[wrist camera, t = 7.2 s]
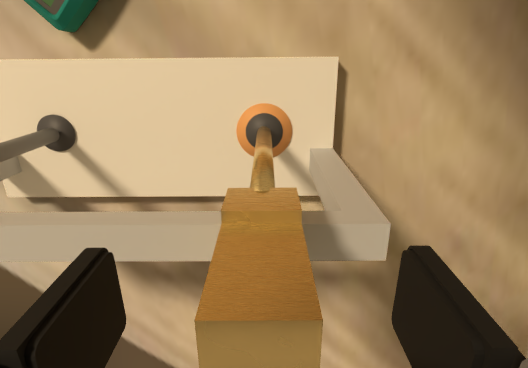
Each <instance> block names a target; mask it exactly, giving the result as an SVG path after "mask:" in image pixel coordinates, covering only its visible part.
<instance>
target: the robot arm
mask: <svg viewBox="0 0 528 368" xmlns="http://www.w3.org/2000/svg"><path fill="white" fill-rule="evenodd" d="M392 324H393V328H394V330H395V332H396V334H397V336H398V339H399V341H400V343H401V345H402V347H403V349H404V351H405V353H406V356H407V358H408V360H409V362H410V364H411V366H412V368H528V358H527V359H526V358H525V357H524V356H523V355H522V354H521V352H520V351H519V350H518V347H517V346H516V345H515V344H514V343H513V341H512V340H511V339H510V338H509V337H508V336H507V335H506V333H505V332H504V331H503V330H502V329H501V328H500V326H499V325H498V324H497V323H496V322H495V321H494V319H493V318H492V317H491V316H490V315H489V314H488V313H487V311H486V310H485V309H484V308H483V307H482V306H481V304H480V303H479V302H478V301H477V300H476V299H475V298H474V296H473V295H472V294H471V293H470V292H469V291H468V289H467V288H466V287H465V286H464V285H463V284H462V283H461V281H460V280H459V279H458V278H457V277H456V276H455V274H454V273H453V272H452V271H451V270H450V269H449V268H448V266H447V265H446V264H445V263H444V262H443V261H442V259H441V258H440V257H439V256H438V255H437V254H436V253H435V251H434V250H433V249H432V248H431V247H430V246H409V248H408V250H404V251H403V253H402V258H401V264H400V270H399V276H398V282H397V288H396V294H395V300H394V306H393V312H392ZM125 325H126V314H125V309H124V304H123V299H122V295H121V290H120V285H119V280H118V275H117V270H116V265H115V260H114V255H113V253H112V252H108V250H107V248H86V249H84V250H83V251H82V252H81V253H80V255H79V256H78V257H77V258H76V259H75V260H74V261H73V262H72V263H71V264H70V265H69V266H68V267H67V269H66V270H65V271H64V272H63V273H62V274H61V275H60V276H59V277H58V278H57V279H56V280H55V281H54V282H53V284H52V285H51V286H50V287H49V288H48V289H47V290H46V291H45V292H44V293H43V294H42V296H41V297H40V298H39V299H38V300H37V301H36V302H35V303H34V304H33V305H32V306H31V307H30V308H29V309H28V310H27V312H26V313H25V314H24V315H23V316H22V317H21V318H20V319H19V320H18V321H17V322H16V323H15V325H14V326H13V327H12V328H11V329H10V330H9V331H8V332H7V333H6V334H5V335H4V336H3V337H2V338H1V340H0V368H105V366H106V364H107V362H108V360H109V358H110V356H111V354H112V352H113V350H114V348H115V346H116V345H117V342H118V341H119V339H120V337H121V335H122V333H123V331H124V329H125Z"/></svg>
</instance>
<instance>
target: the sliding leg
mask: <svg viewBox="0 0 528 368" xmlns="http://www.w3.org/2000/svg"><path fill="white" fill-rule="evenodd" d="M221 222H222V223H221V227H220V231H219V234H218V238H217V241H216V245H215V249H214V252H213V256H212V260H211V263H210V267H209V270H208V274H207V278H206V281H205V285H204V288H203V292H202V296H201V299H200V303H199V307H198V310H197V314H196V317H195V330H196V340H197V350H198V359H199V368H320V357H321V342H322V327H323V318H322V314H321V309H320V305H319V300H318V296H317V291H316V286H315V282H314V277H313V273H312V268H311V264H310V259H309V255H308V250H307V245H306V241H305V236H304V232H303V227H302V209H301V205H300V200H299V196H298V192H297V188H275V180H274V165H273V151H272V137H271V130H270V129H269V128H268V127H266V126H262V127H260V128H259V129H258V131H257V137H256V145H255V152H254V160H253V168H252V176H251V183H250V188H228V189H227V192H226V196H225V199H224V202H223V206H222V209H221Z"/></svg>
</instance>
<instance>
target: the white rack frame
mask: <svg viewBox="0 0 528 368" xmlns="http://www.w3.org/2000/svg"><path fill="white" fill-rule="evenodd" d="M338 60H339V57H250V58H133V59H16V60H0V181H2V180H3V184H4V187H5V190H6V194H7V197H158V196H226V192H227V189H228V188H250V183H251V176H252V168H253V160H254V152H255V145H256V137H257V131H258V129H259V128H260V127H262V126H266V127H268V128H269V129H270V130H271V137H272V151H273V165H274V180H275V188H297V192H298V196H320V199H321V202H322V204H323V207H324V209H325V211H302V227H303V232H304V236H305V241H306V245H307V250H308V255H309V259H310V261H386V256H387V249H388V242H389V234H390V227H391V223H390V222H389V221H388V219H387V218H386V217H385V216H384V214H383V213H382V212H381V210H380V209H379V208H378V206H377V205H376V204H375V203H374V201H373V200H372V199H371V197H370V196H369V195H368V193H367V192H366V191H365V190H364V188H363V187H362V186H361V184H360V183H359V182H358V180H357V179H356V178H355V177H354V175H353V174H352V173H351V171H350V170H349V169H348V167H347V166H346V165H345V163H344V162H343V161H342V160H341V158H340V157H339V156H338V154H337V153H336V152H335V150H334V149H333V137H334V121H335V106H336V91H337V75H338ZM221 223H222V222H221V211H152V212H0V262H73V261H74V260H75V259H76V258H77V257H78V256H79V255H80V253H81V252H82V251H83V250H84V249H86V248H107V250H108V252H112V253H113V255H114V260H115V261H211V260H212V256H213V252H214V249H215V245H216V241H217V238H218V234H219V231H220V227H221Z"/></svg>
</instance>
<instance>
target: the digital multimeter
mask: <svg viewBox="0 0 528 368" xmlns="http://www.w3.org/2000/svg"><path fill="white" fill-rule="evenodd" d="M24 1H25V2H26V3H27V4H29V5H30V6H31V7H32V8H33V9H34V10H36V11H37V12H38V13H39V14H40V15H41V16H42V17H44V18H45V19H46V20H47V21H48V22H49V23H51V24H52V25H53V26H54V27H55V28H56V29H58V30H61V31H67V32H75V31H77V30H78V28H79V27H80V26H81V24H82V23H83V22H84V21H85V19H86V18H87V16H88V15H89V14H90V12H91V11H92V9H93V8H94V7H95V5H96V3H97V2H98V0H24Z"/></svg>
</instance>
